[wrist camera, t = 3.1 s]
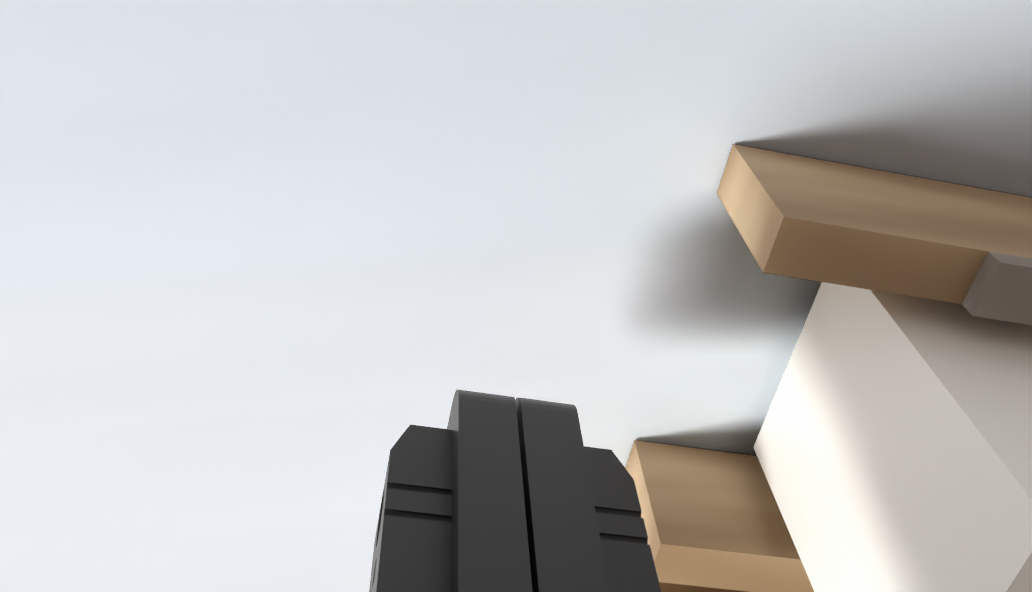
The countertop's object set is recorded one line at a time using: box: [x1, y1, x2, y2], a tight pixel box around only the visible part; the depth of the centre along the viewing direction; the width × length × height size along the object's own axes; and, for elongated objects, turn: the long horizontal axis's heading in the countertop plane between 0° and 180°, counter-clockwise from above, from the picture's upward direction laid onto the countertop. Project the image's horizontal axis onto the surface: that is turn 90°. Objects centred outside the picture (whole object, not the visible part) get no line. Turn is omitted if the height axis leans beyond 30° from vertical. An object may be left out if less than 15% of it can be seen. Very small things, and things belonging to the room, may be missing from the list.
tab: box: [753, 282, 1032, 592], centre depth 13 cm, size 4×4×7 cm
